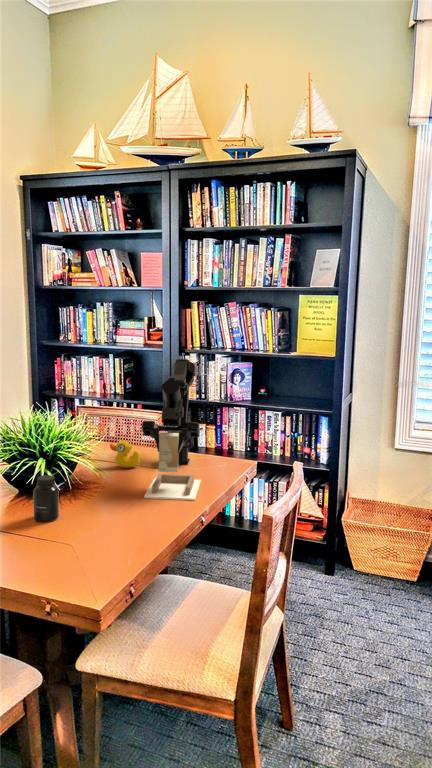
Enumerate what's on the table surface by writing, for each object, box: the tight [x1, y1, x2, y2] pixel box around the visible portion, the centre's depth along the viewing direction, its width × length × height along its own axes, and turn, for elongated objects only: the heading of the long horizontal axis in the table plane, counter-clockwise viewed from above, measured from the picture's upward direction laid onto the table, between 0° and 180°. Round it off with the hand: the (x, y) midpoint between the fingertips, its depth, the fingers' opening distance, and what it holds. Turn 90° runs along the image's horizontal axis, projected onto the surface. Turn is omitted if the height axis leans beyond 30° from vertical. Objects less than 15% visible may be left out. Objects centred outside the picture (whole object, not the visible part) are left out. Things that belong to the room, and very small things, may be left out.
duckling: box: [109, 440, 142, 469], centre depth 203 cm, size 11×5×10 cm, turn 86°
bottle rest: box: [143, 473, 202, 501], centre depth 182 cm, size 18×16×3 cm
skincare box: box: [158, 432, 180, 473], centre depth 180 cm, size 6×4×12 cm
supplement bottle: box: [32, 474, 60, 524], centre depth 156 cm, size 7×7×12 cm
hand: (168, 451), depth 179 cm, fingers closed on skincare box, 6 cm apart
